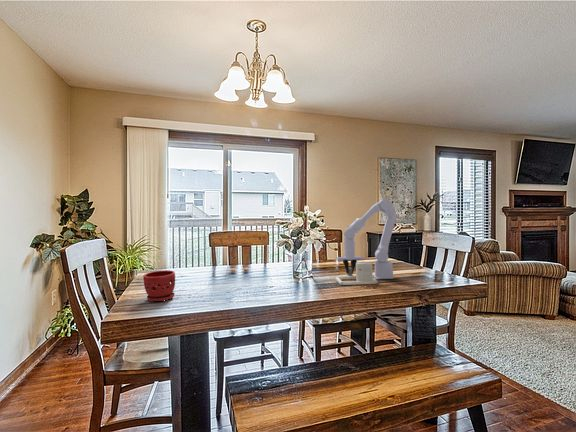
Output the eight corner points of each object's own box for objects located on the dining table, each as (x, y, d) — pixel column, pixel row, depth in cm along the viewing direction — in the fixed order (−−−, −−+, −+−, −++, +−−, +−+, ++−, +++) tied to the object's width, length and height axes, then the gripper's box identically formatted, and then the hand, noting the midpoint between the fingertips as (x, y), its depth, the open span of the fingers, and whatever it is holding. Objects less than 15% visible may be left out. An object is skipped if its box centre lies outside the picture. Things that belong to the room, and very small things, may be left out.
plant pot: (152, 295, 152) (151, 270, 152) (180, 295, 152) (179, 270, 151) (138, 304, 139) (137, 276, 139) (168, 304, 139) (168, 276, 138)
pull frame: (365, 275, 187) (365, 267, 187) (377, 283, 167) (377, 274, 167) (332, 276, 186) (332, 268, 186) (340, 284, 166) (340, 275, 166)
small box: (371, 281, 174) (371, 261, 174) (372, 284, 168) (372, 263, 168) (355, 281, 175) (355, 261, 174) (357, 283, 169) (356, 263, 169)
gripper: (360, 248, 189) (360, 271, 190) (335, 248, 188) (335, 272, 188) (363, 249, 182) (363, 273, 182) (338, 250, 181) (338, 274, 181)
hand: (349, 273), depth 185 cm, fingers closed on pull frame, 2 cm apart
